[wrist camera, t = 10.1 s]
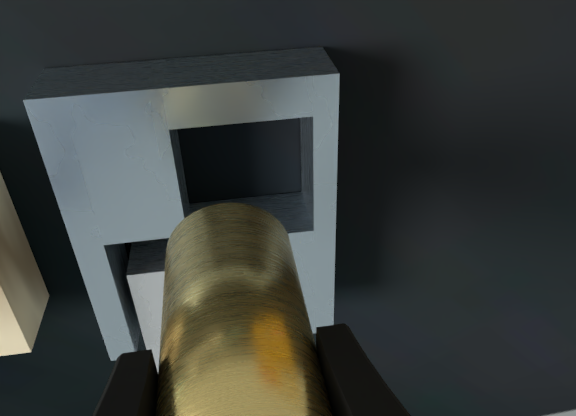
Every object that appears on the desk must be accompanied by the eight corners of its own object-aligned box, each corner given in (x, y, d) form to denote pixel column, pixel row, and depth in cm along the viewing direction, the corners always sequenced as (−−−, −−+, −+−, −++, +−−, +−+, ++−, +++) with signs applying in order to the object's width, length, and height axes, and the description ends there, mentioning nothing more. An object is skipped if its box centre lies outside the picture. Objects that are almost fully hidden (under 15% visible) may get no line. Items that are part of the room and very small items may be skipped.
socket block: (321, 288, 24) (333, 330, 22) (118, 313, 23) (110, 360, 21) (321, 46, 18) (339, 73, 16) (44, 68, 17) (23, 100, 15)
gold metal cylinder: (288, 294, 16) (350, 581, 10) (171, 303, 15) (158, 613, 9) (292, 199, 14) (374, 484, 8) (159, 206, 13) (133, 516, 7)
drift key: (196, 339, 25) (196, 374, 23) (157, 344, 24) (154, 379, 23) (177, 237, 21) (175, 269, 20) (131, 242, 21) (126, 275, 19)
